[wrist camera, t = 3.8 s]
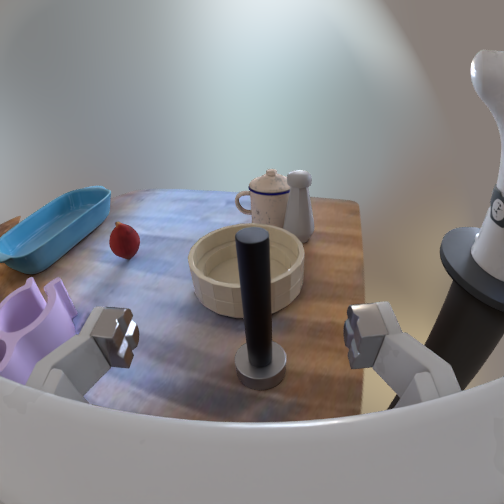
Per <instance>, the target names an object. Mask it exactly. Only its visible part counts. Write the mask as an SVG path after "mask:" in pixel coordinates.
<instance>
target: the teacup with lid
mask: <svg viewBox="0 0 504 504" xmlns="http://www.w3.org/2000/svg"><path fill="white" fill-rule="evenodd" d="M249 190H250V191H242V192H240V193H238V194H237V196H236V198H235V204H236V207H237V208H238V210H239V211H240V212H242V213H243V214H247V215H252V223H258V224H267V225H273V226H276V227H279V228H283V225H284V219H285V214H286V208H287V203H288V197H289V192H290V186H289V185H288V184H287V177H285V176H282V175H280V174H277V171H276V170H275V169H268V170H267V171H266V174H264V175H262V176H261V177H257V178H255V179H253V180H252V181H251V182H250V184H249ZM244 195H250V198H251V210H246V209H244V208H243V207H242V206H241V205H240V203H239V198H240V197H241V196H244Z"/></svg>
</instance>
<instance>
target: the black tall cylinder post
mask: <svg viewBox="0 0 504 504" xmlns="http://www.w3.org/2000/svg"><path fill="white" fill-rule="evenodd" d="M235 242H236V252H237V261H238V271H239V280H240V290H241V299H242V308H243V317H244V326H245V334H246V343H245V344H243V345H242V346H241V347H240V348H239V349H238V351H237V352H236V355H235V366H236V372H237V376H238V378H239V380H240V381H241V382H242V383H243V384H244V385H245V386H247V387H249V388H251V389H255V390H266V389H270V388H272V387H274V386H276V385H278V384H279V383H280V382H281V381H282V379H283V378H284V376H285V372H286V354H285V351H284V350H283V348H282V347H281V346H280V345H279V344H277V343H276V342H274V341H272V310H271V271H270V239H269V232H268V231H267V230H265V229H263V228H260V227H247V228H244V229H241V230H239V231H238V232H237V233H236V235H235Z"/></svg>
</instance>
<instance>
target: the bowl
mask: <svg viewBox="0 0 504 504" xmlns="http://www.w3.org/2000/svg"><path fill="white" fill-rule="evenodd" d="M247 227H260V228H263V229H265V230H267V231H268V232H269V239H270V271H271V310H272V313H275V312H277V311H279V310H280V309H282V308H284V307H286V306H287V305H289V304H290V303H291V302H292V301H293V300H294V299H295V298H296V297H297V296H298V295H299V293H300V290H301V287H302V284H303V276H304V256H305V253H304V248H303V244H302V243H301V241H300V240H299V239H298V238H297V237H296V236H295V235H294V234H292V233H290V232H289V231H287V230H285V229H283V228H279V227H276V226H273V225H267V224H258V223H249V224H237V225H232V226H227V227H223V228H220V229H217V230H215V231H212V232H210V233H208V234H207V235H205V236H203V237H202V238H200V239H199V240H198V241H197V242H196V243H195V244H194V245H193V246H192V248H191V250H190V253H189V255H188V262H189V267H190V271H191V276H192V280H193V285H194V289H195V294H196V297H197V298H198V299H199V300H200V302H201V303H202V304H203V305H204V306H205V307H207V308H209V309H210V310H212V311H214V312H216V313H218V314H221V315H225V316H230V317H234V318H244V317H243V308H242V299H241V290H240V280H239V271H238V261H237V252H236V242H235V235H236V233H237V232H238V231H239V230H241V229H244V228H247Z"/></svg>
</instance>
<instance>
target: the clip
mask: <svg viewBox="0 0 504 504" xmlns="http://www.w3.org/2000/svg"><path fill="white" fill-rule="evenodd" d="M44 290H45V292H46V294H47V296H48V302H47V304H46V302H45V300H44V298H43V296H42V294H41V293H40V291H39V289H38V287H37V285H36V283H35V281H34V279H33V277H30V278H28V279H27V280H26V284H25V285H24V286H22V287H20V288H18V289H16V290H15V291H13V292H12V293H11V294H9V295H8V296H7V297H6V298H5V299H4V300H3V301H2V302H1V303H0V376H2V377H4V378H7V379H9V380H12V381H15V382H17V383H20V384H23V385H26V383H27V381H28V379H29V377H30V375H31V373H32V371H33V369H34V367H35V365H36V363H37V362H38V361H40V360H41V359H43V358H44V357H45V356H47V355H48V354H49V353H51V352H52V351H54V350H55V349H56V348H58V347H59V346H60V345H62V344H63V343H65V342H66V341H67V340H69V339H70V338H72V337H73V336H74V335H75V326H74V324H73V322H72V318H74V317H75V316H76V315H77V314H78V312H77V310H76V309H75V307H74V305H73V303H72V301H71V299H70V297H69V295H68V293H67V291H66V289H65V287H64V284H63V282H62V280H61V278H60V277H57V278H55V279H54V280H52V281H51V282H49V283H48V284H47V285H46V286H44Z"/></svg>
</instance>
